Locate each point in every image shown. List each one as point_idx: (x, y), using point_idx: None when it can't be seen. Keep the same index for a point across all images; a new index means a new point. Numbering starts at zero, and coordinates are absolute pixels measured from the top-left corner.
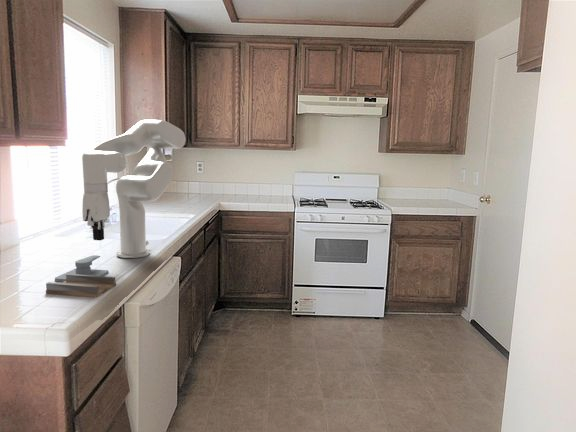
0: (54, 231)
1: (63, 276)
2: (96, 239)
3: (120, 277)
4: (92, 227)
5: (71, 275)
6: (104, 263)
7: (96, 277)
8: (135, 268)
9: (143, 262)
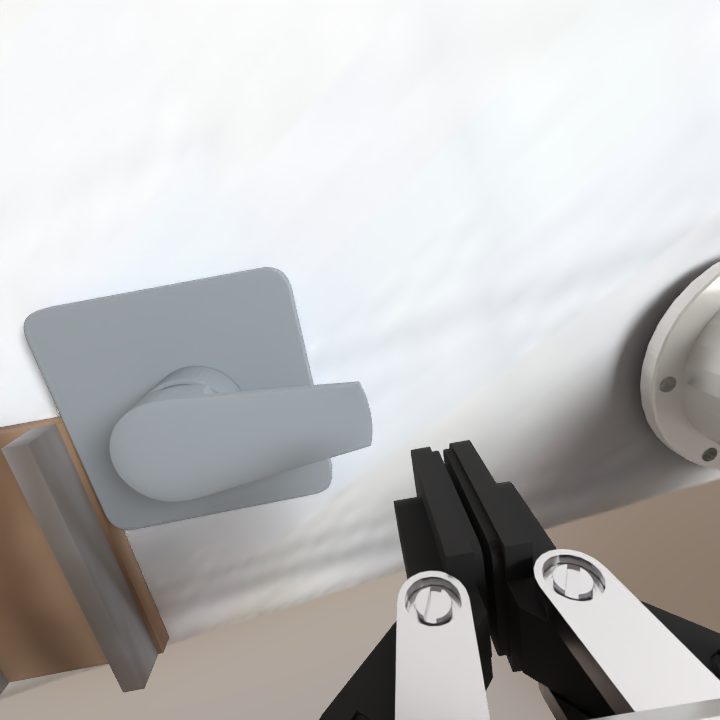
0: None
1: (84, 343)
2: (417, 486)
3: (291, 572)
4: (373, 656)
5: (20, 483)
6: (514, 304)
7: (88, 616)
8: None
9: (599, 497)
